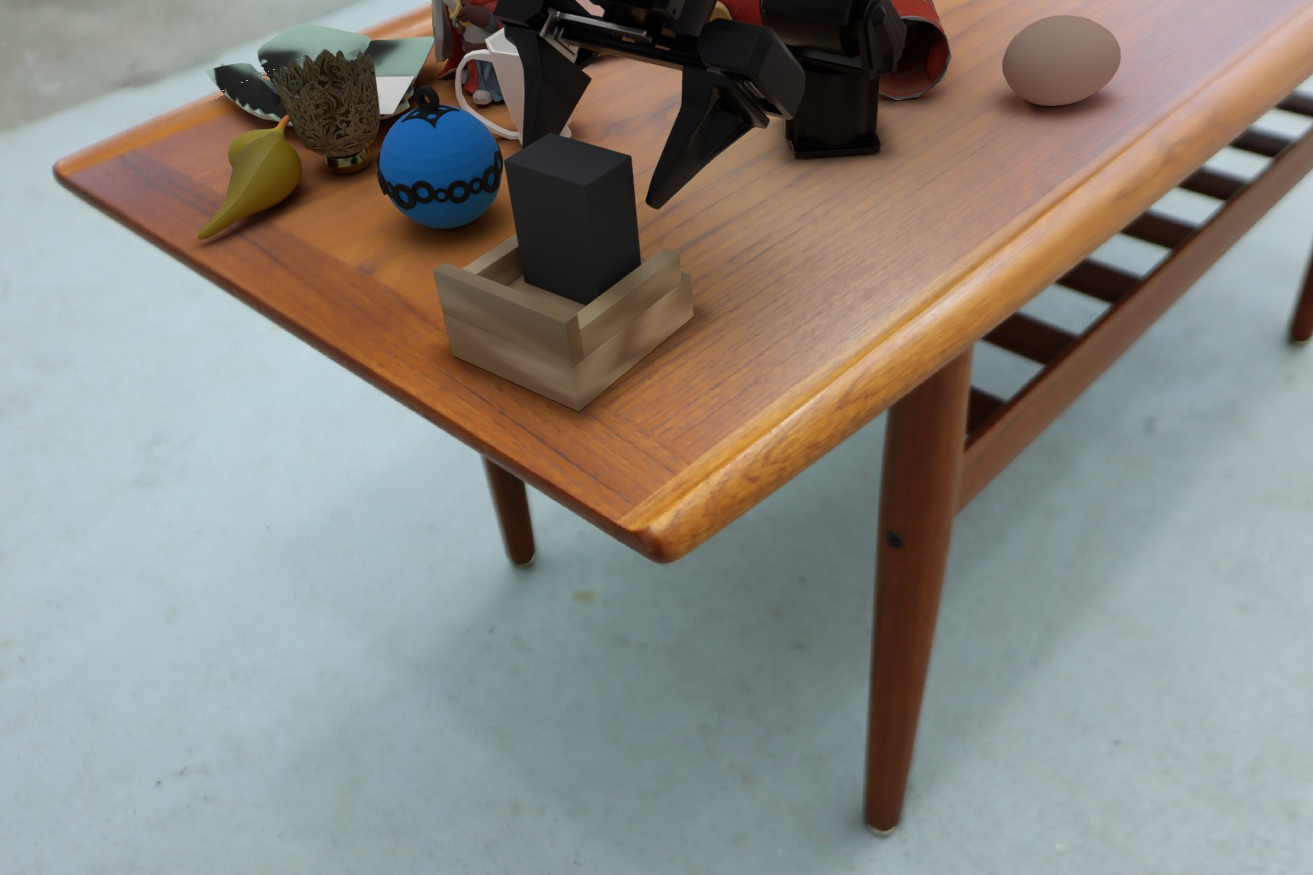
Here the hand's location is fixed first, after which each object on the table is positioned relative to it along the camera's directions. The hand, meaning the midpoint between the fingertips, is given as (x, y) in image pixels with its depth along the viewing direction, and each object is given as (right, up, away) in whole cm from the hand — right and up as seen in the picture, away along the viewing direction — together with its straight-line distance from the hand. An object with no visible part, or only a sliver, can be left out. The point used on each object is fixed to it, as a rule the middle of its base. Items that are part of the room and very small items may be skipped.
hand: (587, 186), depth 62 cm
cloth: (-26, +18, +33) cm, 46 cm away
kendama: (+6, +22, +38) cm, 44 cm away
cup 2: (-7, +10, +26) cm, 28 cm away
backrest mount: (-1, -8, +4) cm, 9 cm away
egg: (+30, +14, +21) cm, 40 cm away
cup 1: (-20, +7, +24) cm, 32 cm away
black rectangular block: (0, -5, +3) cm, 6 cm away
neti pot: (-23, +6, +18) cm, 29 cm away
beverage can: (+24, +17, +31) cm, 42 cm away
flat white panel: (-19, +14, +28) cm, 36 cm away
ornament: (-11, +1, +16) cm, 19 cm away
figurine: (-11, +17, +34) cm, 39 cm away
